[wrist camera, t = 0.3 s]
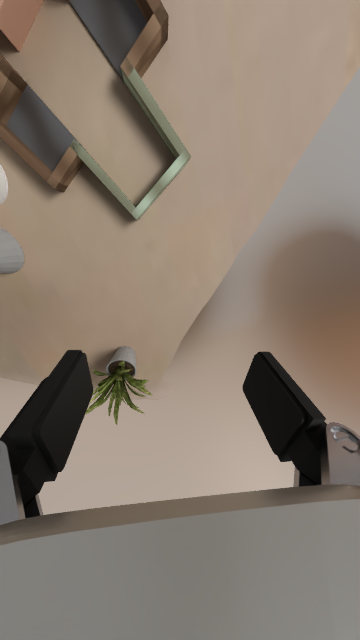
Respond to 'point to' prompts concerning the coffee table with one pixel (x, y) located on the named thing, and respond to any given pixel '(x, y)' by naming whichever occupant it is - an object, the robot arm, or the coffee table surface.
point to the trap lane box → (130, 63)
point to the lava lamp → (10, 253)
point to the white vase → (3, 185)
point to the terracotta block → (18, 19)
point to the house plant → (119, 381)
